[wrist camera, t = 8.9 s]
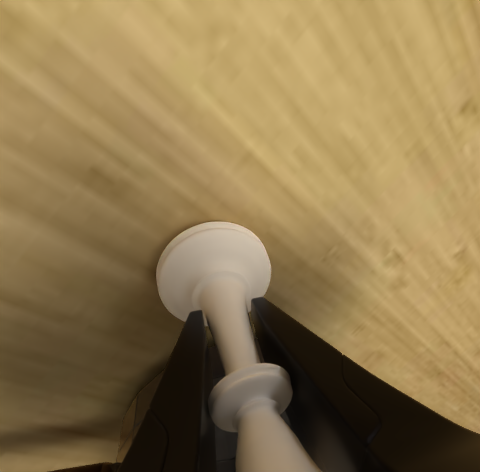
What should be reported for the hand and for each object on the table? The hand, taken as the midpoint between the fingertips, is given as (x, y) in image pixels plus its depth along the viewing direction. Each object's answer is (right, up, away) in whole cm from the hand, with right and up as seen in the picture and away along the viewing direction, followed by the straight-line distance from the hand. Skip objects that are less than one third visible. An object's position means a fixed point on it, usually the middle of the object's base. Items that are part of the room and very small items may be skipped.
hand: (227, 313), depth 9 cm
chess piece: (-1, +1, +2) cm, 3 cm away
